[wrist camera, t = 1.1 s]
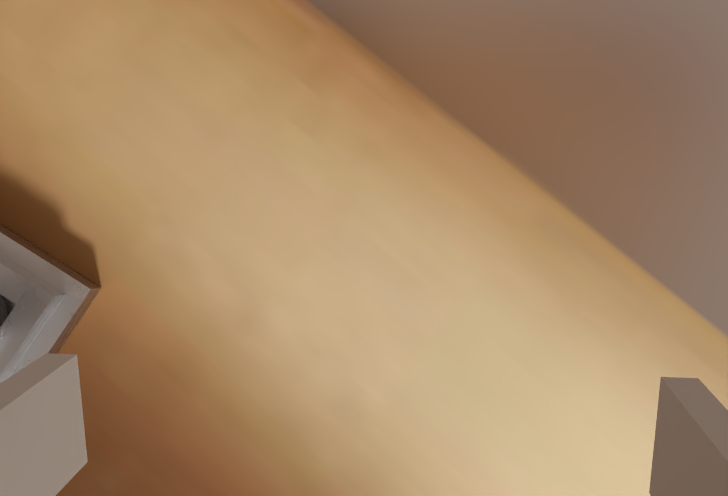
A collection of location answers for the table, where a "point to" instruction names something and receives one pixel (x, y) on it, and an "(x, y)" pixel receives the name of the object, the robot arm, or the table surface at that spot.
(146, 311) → the table surface
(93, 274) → the table surface
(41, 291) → the grey square socket base
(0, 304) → the gold topped grey cylinder
